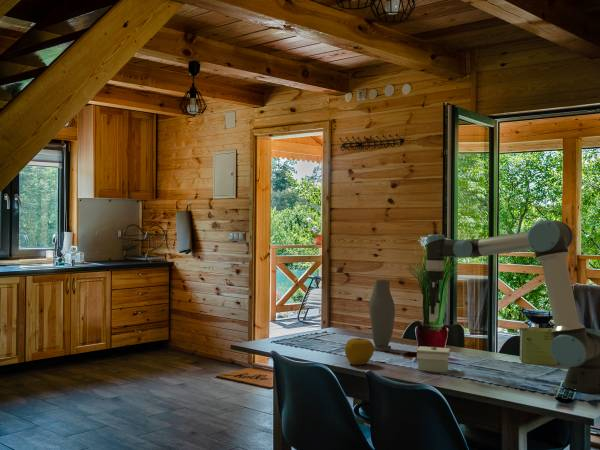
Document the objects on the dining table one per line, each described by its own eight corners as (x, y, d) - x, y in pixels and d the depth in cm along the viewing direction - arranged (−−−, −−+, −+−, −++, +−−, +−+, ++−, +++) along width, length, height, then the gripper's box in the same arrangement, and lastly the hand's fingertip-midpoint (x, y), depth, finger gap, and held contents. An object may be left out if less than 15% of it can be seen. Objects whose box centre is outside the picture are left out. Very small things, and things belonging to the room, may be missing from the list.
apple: (375, 362, 286) (376, 337, 286) (371, 368, 273) (371, 341, 274) (347, 360, 289) (347, 335, 289) (341, 365, 277) (342, 339, 277)
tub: (448, 368, 275) (448, 351, 276) (447, 372, 268) (447, 354, 268) (419, 366, 279) (420, 349, 279) (418, 370, 271) (418, 352, 271)
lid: (449, 356, 277) (449, 346, 277) (448, 360, 267) (448, 350, 267) (419, 354, 280) (419, 344, 280) (416, 358, 270) (416, 348, 270)
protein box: (557, 365, 290) (558, 331, 290) (522, 363, 293) (522, 329, 293) (553, 361, 300) (553, 328, 300) (519, 359, 303) (519, 326, 303)
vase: (394, 351, 315) (395, 280, 316) (367, 350, 317) (369, 280, 318) (394, 348, 328) (395, 279, 329) (369, 347, 330) (370, 279, 331)
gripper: (442, 271, 261) (440, 323, 261) (445, 269, 285) (444, 317, 285) (423, 271, 263) (422, 322, 263) (428, 268, 287) (427, 316, 287)
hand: (433, 319), depth 274 cm, fingers open, 13 cm apart
